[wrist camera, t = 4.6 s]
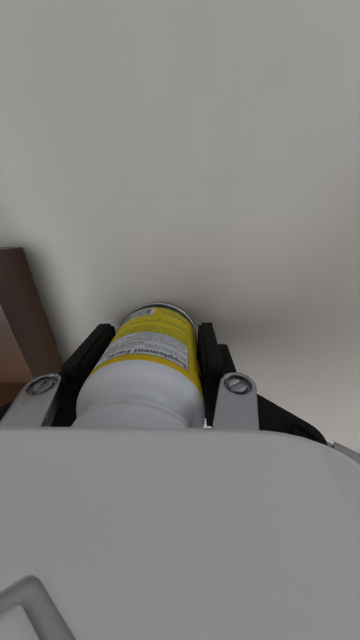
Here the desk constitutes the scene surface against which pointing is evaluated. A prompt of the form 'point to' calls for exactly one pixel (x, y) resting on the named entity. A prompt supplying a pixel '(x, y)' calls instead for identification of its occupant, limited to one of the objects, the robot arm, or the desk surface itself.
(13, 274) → the step shelf
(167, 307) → the supplement bottle
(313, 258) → the desk surface
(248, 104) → the desk surface
